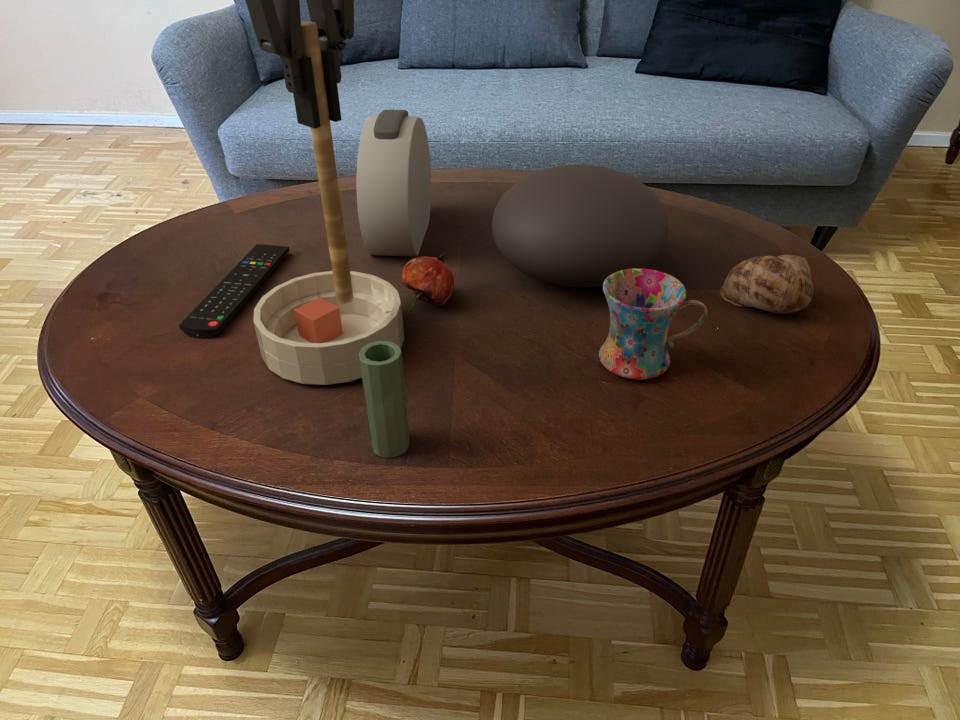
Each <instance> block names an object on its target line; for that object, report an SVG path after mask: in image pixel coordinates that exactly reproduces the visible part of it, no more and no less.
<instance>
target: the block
mask: <svg viewBox="0 0 960 720" xmlns="http://www.w3.org/2000/svg"><path fill="white" fill-rule="evenodd" d="M294 312H295V317H296V322H297V327H298V332H299V336H300V337H302V338H304V339H305V340H307V341H309V342H311V343H326V342H329V341H331V340H333V339H334V338H336V337H338V336H340V335H342V334H343V330H342V324H341V317H340V310H339V307H337V306H335V305H333V304H331V303H329V302H328V301H326V300H324V299H322V298H320V297H319V298H316V299H314V300H312V301H310V302H308V303H306V304H304V305H302V306H300V307H298V308H296V309H294Z"/></svg>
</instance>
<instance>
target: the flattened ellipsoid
mask: <svg viewBox="0 0 960 720" xmlns="http://www.w3.org/2000/svg"><path fill="white" fill-rule="evenodd" d="M491 220H492V222H491V230H492V236H493V239H494V242H495V245H496V246H497V248H498V250H499V251H500V253H501V254H502V256H503V257H504V258H505V259H506V260H507V261H508V262H509V263H510V264H512V265H513V266H514V267H515V268H516V269H518V270H519V271H520V272H522V273H524V274H526V275H528V276H530V277H532V278H534V279H537V280H539V281H541V282H545V283H548V284H552V285H554V286H555V285H556V286H560V287H570V288H594V287H603V283H604V281H605V279H606V278H607V277H608V276H610V275H611V274H613V273H615V272H618V271H621V270H626V269H647V268H648V266H650V265H651V264H652V263H653V262H655V260H656V259H657V258H658V256H659V255H660V254H661V252H662V250H664V248H665V246H666V243H667V240H668V237H669V230H670V228H669V217H668V215H667V212H666V209H665V206H664V204H663V202H662V201H661V199H660V198H659V197H658V196H657V195H656V193H655V192H654V191H653V190H652V189H651V188H650V187H649V186H647V185H646V184H645V183H643V182H641V181H640V180H639V179H637V178H636V177H634V176H632V175H630V174H628V173H625V172H622V171H619V170H616V169H614V168H611V167H607V166H601V165H595V164H579V163H578V164H565V165H557V166H552V167H549V168H545V169H542V170H537V171H535V172H533V173H531V174H529V175H527V176H526V177H524V178H521V179H520V180H519V181H517V182H515V183H514V184H513V185H512V186H511V187H510V188H508V189H507V191H506V192H504V193H503V194H502V195H501V198H500V199H499V201H498V203H497V205H496V206H495V208H494V210H493V214H492V219H491Z"/></svg>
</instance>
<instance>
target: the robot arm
mask: <svg viewBox="0 0 960 720" xmlns="http://www.w3.org/2000/svg"><path fill="white" fill-rule="evenodd" d="M305 1H306V6H307V10H308V14H309V20H310V22H315V23H317V28H318V35H319V43H320V50H321V58H322V65H323V73H324V80H325V88H326V95H327V103H328V110H329V118H330V122H331V121H332V122H334V123H337V122H341V121H343V120H342V112H341V111H342V110H341V104H340V96H339V95H340V94H339V88H338V84H340V83H341V82H342V71H341V69H342V68H341V63H340V62H341V61H340V54H339V53H340V52H343V51H344V50H345V48H346V47H347V46H346V45H347V43H346V40H352V39H353V38H354V35H355V0H305ZM300 3H301V2H300V0H245V4H246V7H247V10H248V13H249V17H250V21H251V24H252V27H253V31H254V33H255V37H256V40H257V44H258V47H259V49H260V50H261V51H263V52H266V53H269V54H273V55H277V56H279V58H280V61H281V65H282V71H283V79H284V83H285V85H284V86H285V88H286V90H287V92H288V93H291V94H292V95H293V101H294V109H295V114H296V120H297V121H296V122H297V124H299V125H302V126H305V127H309V128H310V129H311V128H314V129H315V128H319V127H321V125H320V117H319V110H318V103H317V96H316V89H315V82H314V75H313V68H312V61H311V57H308V56H303V45H302V31H301V22H302V19H301V5H300Z"/></svg>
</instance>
